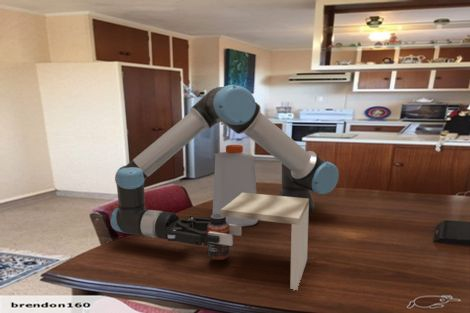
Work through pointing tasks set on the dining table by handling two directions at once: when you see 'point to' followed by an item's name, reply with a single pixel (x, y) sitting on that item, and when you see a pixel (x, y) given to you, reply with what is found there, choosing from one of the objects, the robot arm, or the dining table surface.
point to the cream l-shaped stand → (282, 212)
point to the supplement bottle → (218, 226)
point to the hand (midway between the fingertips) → (236, 235)
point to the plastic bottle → (233, 180)
